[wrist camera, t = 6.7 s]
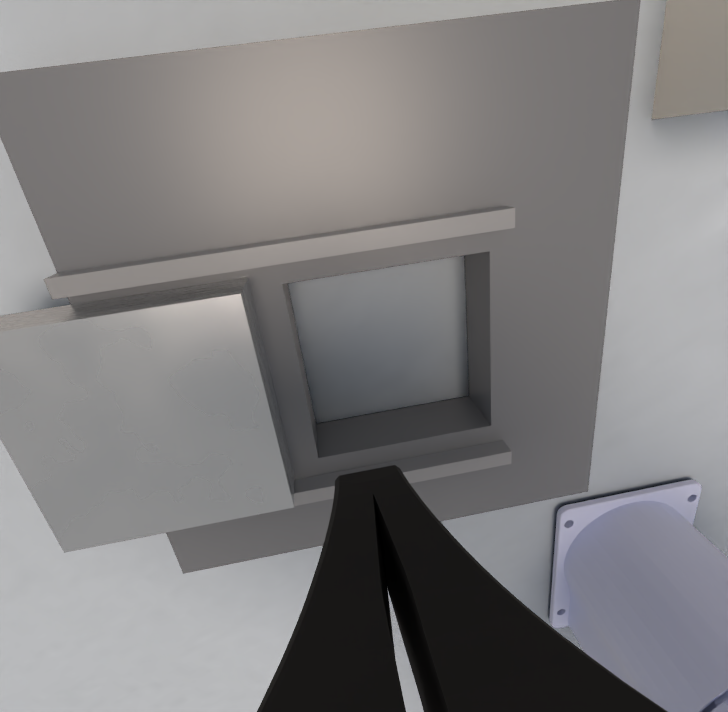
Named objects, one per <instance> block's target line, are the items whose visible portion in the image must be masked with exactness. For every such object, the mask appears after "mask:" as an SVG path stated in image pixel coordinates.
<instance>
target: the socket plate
mask: <svg viewBox="0 0 728 712" xmlns="http://www.w3.org/2000/svg"><path fill="white" fill-rule="evenodd" d="M639 9H640V0H614V1H605V2H597V3H588V4H580V5H571V6H563V7H554V8H545V9H537V10H528V11H520V12H511V13H503V14H494V15H486V16H477V17H469V18H460V19H452V20H443V21H435V22H426V23H418V24H409V25H401V26H392V27H384V28H375V29H367V30H358V31H350V32H341V33H333V34H324V35H316V36H307V37H299V38H290V39H282V40H273V41H265V42H256V43H247V44H239V45H230V46H222V47H213V48H205V49H196V50H188V51H179V52H171V53H162V54H154V55H145V56H137V57H128V58H120V59H111V60H103V61H94V62H86V63H77V64H69V65H60V66H52V67H43V68H35V69H26V70H18V71H9V72H1V73H0V137H1V140H2V142H3V144H4V147H5V149H6V151H7V154H8V156H9V159H10V161H11V163H12V166H13V168H14V171H15V173H16V175H17V178H18V180H19V182H20V185H21V187H22V190H23V192H24V194H25V197H26V199H27V202H28V204H29V206H30V209H31V211H32V214H33V216H34V218H35V221H36V223H37V225H38V228H39V230H40V233H41V235H42V237H43V240H44V242H45V245H46V247H47V249H48V252H49V254H50V256H51V259H52V261H53V264H54V266H55V268H56V271H57V273H56V274H54V275H52V276H50V277H48V278H45V279H44V282H45V284H46V286H47V289H48V291H49V293H50V295H51V298H52V299H59V298H65V297H68V299H69V302H70V304H71V305H72V304H78V303H85V302H91V301H97V300H104V299H110V298H117V297H123V296H129V295H136V294H142V293H149V292H155V291H161V290H168V289H174V288H181V287H187V286H193V285H200V284H206V283H213V282H219V281H225V280H232V279H238V278H245V277H248V279H249V283H250V287H251V291H252V295H253V300H254V304H255V308H256V312H257V316H258V320H259V325H260V329H261V333H262V337H263V341H264V346H265V350H266V354H267V358H268V362H269V367H270V371H271V375H272V379H273V383H274V388H275V392H276V396H277V400H278V404H279V408H280V413H281V417H282V421H283V425H284V429H285V434H286V438H287V442H288V446H289V450H290V455H291V459H292V463H293V467H294V471H295V474H294V508H289V509H284V510H279V511H274V512H269V513H263V514H258V515H253V516H248V517H243V518H238V519H233V520H228V521H223V522H218V523H212V524H207V525H202V526H197V527H192V528H187V529H182V530H177V531H172V532H167V536H168V538H169V540H170V543H171V545H172V548H173V550H174V552H175V555H176V557H177V559H178V562H179V564H180V567H181V569H182V571H183V574H184V573H188V572H193V571H198V570H203V569H208V568H213V567H218V566H223V565H228V564H233V563H238V562H243V561H247V560H252V559H257V558H262V557H267V556H272V555H277V554H282V553H287V552H292V551H297V550H302V549H307V548H311V547H316V546H321V545H323V544H324V541H325V537H326V533H327V529H328V525H329V521H330V516H331V511H332V506H333V499H334V491H335V480H336V479H337V478H338V477H339V476H340V475H345V474H350V473H355V472H360V471H366V470H371V469H376V468H381V467H386V466H392V465H396V466H397V467H399V468H400V469H401V471H402V473H403V474H404V476H405V477H406V479H407V480H408V482H409V483H410V485H411V486H412V487H413V489H414V490H415V491H416V493H417V494H418V495H419V497H420V498H421V499H422V501H423V502H424V503H425V504H426V506H427V507H428V508H429V509H430V511H431V512H432V513H433V514H434V515H435V517H436V518H437V519H438V520H439V521H444V520H449V519H454V518H459V517H464V516H469V515H474V514H479V513H484V512H488V511H493V510H498V509H503V508H508V507H513V506H518V505H523V504H528V503H533V502H538V501H543V500H547V499H552V498H557V497H562V496H567V495H572V494H577V493H582V492H587V491H588V485H589V475H590V466H591V457H592V447H593V438H594V429H595V420H596V410H597V401H598V392H599V382H600V373H601V364H602V354H603V345H604V336H605V326H606V317H607V308H608V298H609V289H610V280H611V270H612V261H613V252H614V242H615V233H616V224H617V214H618V205H619V196H620V186H621V177H622V168H623V158H624V149H625V140H626V130H627V121H628V112H629V102H630V93H631V84H632V74H633V65H634V56H635V46H636V37H637V28H638V18H639ZM463 255H465V279H466V311H467V343H468V375H469V396H467V397H461V398H456V399H450V400H445V401H439V402H434V403H428V404H423V405H417V406H412V407H406V408H401V409H395V410H390V411H384V412H379V413H374V414H368V415H363V416H357V417H352V418H346V419H341V420H335V421H330V422H324V423H319V424H316V421H315V416H314V412H313V407H312V402H311V397H310V392H309V387H308V382H307V377H306V372H305V367H304V362H303V357H302V352H301V347H300V342H299V337H298V332H297V328H296V323H295V318H294V313H293V308H292V303H291V298H290V293H289V288H288V283H292V282H299V281H305V280H311V279H318V278H324V277H330V276H337V275H343V274H349V273H356V272H362V271H368V270H374V269H381V268H387V267H393V266H400V265H406V264H412V263H419V262H425V261H431V260H438V259H444V258H450V257H457V256H463Z"/></svg>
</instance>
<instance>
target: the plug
mask: <svg viewBox="0 0 728 712" xmlns="http://www.w3.org/2000/svg"><path fill="white" fill-rule="evenodd" d="M724 110H728V0H667V1H666V9H665V17H664V25H663V33H662V41H661V49H660V57H659V65H658V73H657V80H656V88H655V96H654V104H653V112H652V120H653V119H661V118H669V117H677V116H684V115H692V114H700V113H708V112H716V111H724Z"/></svg>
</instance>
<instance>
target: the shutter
mask: <svg viewBox="0 0 728 712" xmlns="http://www.w3.org/2000/svg"><path fill="white" fill-rule="evenodd" d="M0 439H1V441H2V442H3V444H4V446H5V448H6V449H7V451H8V453H9V455H10V457H11V458H12V460H13V462H14V464H15V466H16V467H17V469H18V471H19V473H20V474H21V476H22V478H23V480H24V482H25V483H26V485H27V487H28V489H29V490H30V492H31V494H32V496H33V498H34V499H35V501H36V503H37V505H38V506H39V508H40V510H41V512H42V514H43V515H44V517H45V519H46V521H47V522H48V524H49V526H50V528H51V530H52V531H53V533H54V535H55V537H56V538H57V540H58V542H59V544H60V546H61V547H62V549H63V551H64V553H65V552H70V551H75V550H80V549H85V548H90V547H95V546H100V545H105V544H110V543H116V542H121V541H126V540H131V539H136V538H141V537H146V536H151V535H156V534H161V533H167V532H172V531H177V530H182V529H187V528H192V527H197V526H202V525H207V524H212V523H218V522H223V521H228V520H233V519H238V518H243V517H248V516H253V515H258V514H263V513H269V512H274V511H279V510H284V509H289V508H294V474H295V471H294V467H293V463H292V459H291V455H290V450H289V446H288V442H287V438H286V434H285V429H284V425H283V421H282V417H281V413H280V408H279V404H278V400H277V396H276V392H275V388H274V383H273V379H272V375H271V371H270V367H269V362H268V358H267V354H266V350H265V346H264V341H263V337H262V333H261V329H260V325H259V320H258V316H257V312H256V308H255V304H254V300H253V295H252V291H251V287H250V283H249V279H248V277H245V278H238V279H232V280H225V281H219V282H213V283H206V284H200V285H193V286H187V287H181V288H174V289H168V290H161V291H155V292H149V293H142V294H136V295H129V296H123V297H117V298H110V299H104V300H97V301H91V302H85V303H78V304H72V305H65V306H59V307H53V308H46V309H40V310H33V311H27V312H21V313H14V314H8V315H1V316H0Z"/></svg>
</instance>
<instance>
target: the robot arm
mask: <svg viewBox="0 0 728 712" xmlns="http://www.w3.org/2000/svg"><path fill="white" fill-rule="evenodd" d="M701 490H702V486H701V485H700V484H699V483H698V482H697V481H696V480H686V481H681V482H676V483H671V484H666V485H661V486H656V487H651V488H647V489H642V490H637V491H632V492H627V493H622V494H617V495H612V496H608V497H603V498H598V499H593V500H588V501H583V502H578V503H573V504H569V505H565V506H562V507H561V508H560V509H559V510H558V512H557V520H556V534H555V548H554V562H553V576H552V590H551V603H550V617H549V620H550V623H551V625H552V626H553V627H554V628H562V627H567V626H569V627H570V629H571V630H572V632H573V634H574V635H575V637H576V639H577V640H578V642H579V644H580V646H581V647H582V649H583V651H584V652H583V651H582V650H581V649H579V648H578V647H576V646H575V645H574V644H572V643H571V642H570V641H568V640H567V639H566V638H564V637H563V636H562V635H560V634H559V633H558V632H557V631H555V630H554V629H553V628H552V627H550V626H549V625H548V624H547V623H546V622H544V621H543V620H542V619H541V618H540V617H538V616H537V615H536V614H535V613H533V612H532V611H531V610H530V609H529V608H527V607H526V606H525V605H524V604H523V603H522V602H521V601H519V600H518V599H517V598H516V597H515V596H514V595H513V594H511V593H510V592H509V591H508V590H507V589H506V588H505V587H503V586H502V585H501V584H500V583H499V582H498V581H497V580H496V579H495V578H494V577H493V576H492V575H491V574H490V573H489V572H487V571H486V570H485V569H484V568H483V567H482V566H481V565H480V564H479V563H478V562H477V561H476V560H475V559H474V558H473V557H472V556H471V555H470V554H469V553H468V552H467V551H466V550H465V549H464V548H463V546H462V545H461V544H460V543H459V542H458V541H457V540H456V539H455V538H454V537H453V536H452V535H451V533H450V532H449V531H448V530H447V529H446V528H445V527H444V526H443V524H442V523H441V522H440V521H439V520H438V519H437V518H436V517H435V515H434V514H433V513H432V512H431V511H430V509H429V508H428V507H427V506H426V504H425V503H424V502H423V501H422V499H421V498H420V497H419V495H418V494H417V493H416V491H415V490H414V489H413V487H412V486H411V485H410V483H409V482H408V480H407V479H406V477H405V476H404V474H403V473H402V471H401V469H400V468H399V467H397V466H396V465H392V466H386V467H381V468H376V469H371V470H366V471H360V472H355V473H350V474H345V475H340V476H339V477H338V478H337V479H336V480H335V491H334V499H333V506H332V511H331V516H330V521H329V525H328V529H327V533H326V537H325V541H324V544H323V548H322V552H321V555H320V559H319V562H318V565H317V568H316V571H315V574H314V577H313V580H312V583H311V586H310V589H309V592H308V595H307V598H306V601H305V604H304V606H303V609H302V611H301V614H300V617H299V619H298V622H297V624H296V627H295V629H294V632H293V634H292V637H291V639H290V641H289V644H288V646H287V648H286V651H285V653H284V655H283V658H282V660H281V662H280V664H279V666H278V669H277V671H276V673H275V675H274V677H273V679H272V681H271V683H270V686H269V688H268V690H267V692H266V694H265V696H264V698H263V700H262V703H261V705H260V707H259V709H258V711H257V712H406V710H405V705H404V700H403V696H402V691H401V686H400V681H399V676H398V671H397V666H396V661H395V653H394V644H393V635H392V626H391V617H390V608H389V599H388V591H389V595H390V598H391V601H392V605H393V608H394V612H395V615H396V618H397V622H398V625H399V628H400V632H401V635H402V638H403V642H404V645H405V648H406V652H407V655H408V658H409V662H410V665H411V668H412V672H413V675H414V678H415V682H416V685H417V688H418V692H419V695H420V699H421V702H422V706H423V710H424V712H728V557H727V556H726V555H725V554H723V553H722V552H721V551H720V550H719V549H718V548H717V547H716V546H715V545H714V544H713V543H711V542H710V541H709V540H708V539H707V538H706V537H705V536H704V535H703V534H702V533H701V532H699V531H698V530H697V529H696V528H695V527H694V526H693V523H694V518H695V514H696V510H697V506H698V502H699V498H700V494H701ZM387 588H388V590H387Z"/></svg>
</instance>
